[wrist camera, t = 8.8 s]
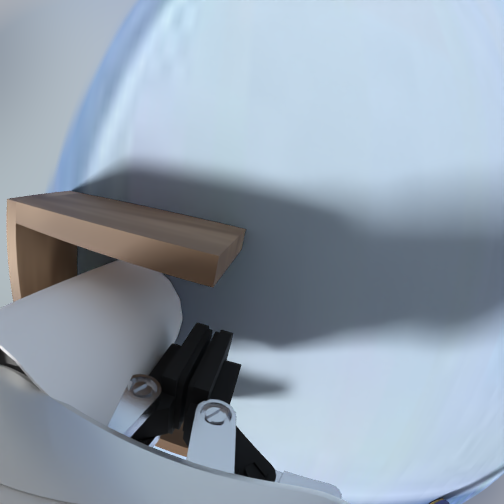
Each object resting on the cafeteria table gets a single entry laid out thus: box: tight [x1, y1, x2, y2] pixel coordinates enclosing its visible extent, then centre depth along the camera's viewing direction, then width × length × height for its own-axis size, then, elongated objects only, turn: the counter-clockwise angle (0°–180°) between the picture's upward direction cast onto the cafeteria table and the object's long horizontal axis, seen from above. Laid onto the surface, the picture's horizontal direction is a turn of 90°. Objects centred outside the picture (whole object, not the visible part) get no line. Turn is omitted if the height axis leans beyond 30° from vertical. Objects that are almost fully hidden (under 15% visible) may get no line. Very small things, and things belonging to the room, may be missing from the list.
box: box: [7, 191, 246, 457], centre depth 12 cm, size 11×11×5 cm
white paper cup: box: [0, 260, 183, 426], centre depth 9 cm, size 7×7×10 cm
